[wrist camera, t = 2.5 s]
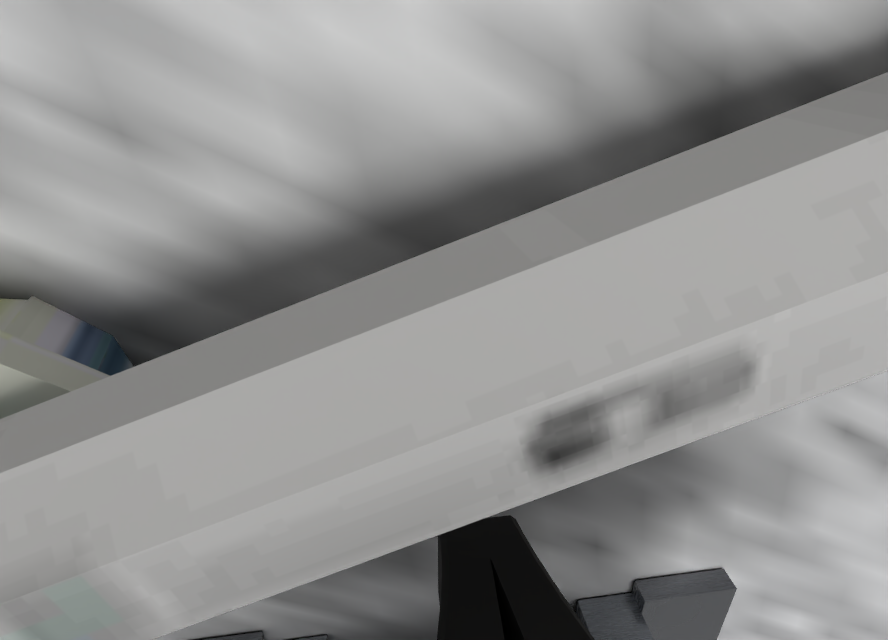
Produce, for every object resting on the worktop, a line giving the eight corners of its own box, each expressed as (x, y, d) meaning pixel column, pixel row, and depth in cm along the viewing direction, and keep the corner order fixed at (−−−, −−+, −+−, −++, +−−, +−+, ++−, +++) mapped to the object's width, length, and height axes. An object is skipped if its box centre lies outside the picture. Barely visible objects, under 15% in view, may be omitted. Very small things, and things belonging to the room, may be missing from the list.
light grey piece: (1509, 245, 8) (-486, 1190, 5) (991, 149, 14) (-100, 579, 11) (1903, -258, 5) (-1780, 1138, 3) (1055, -118, 11) (-371, 360, 8)
